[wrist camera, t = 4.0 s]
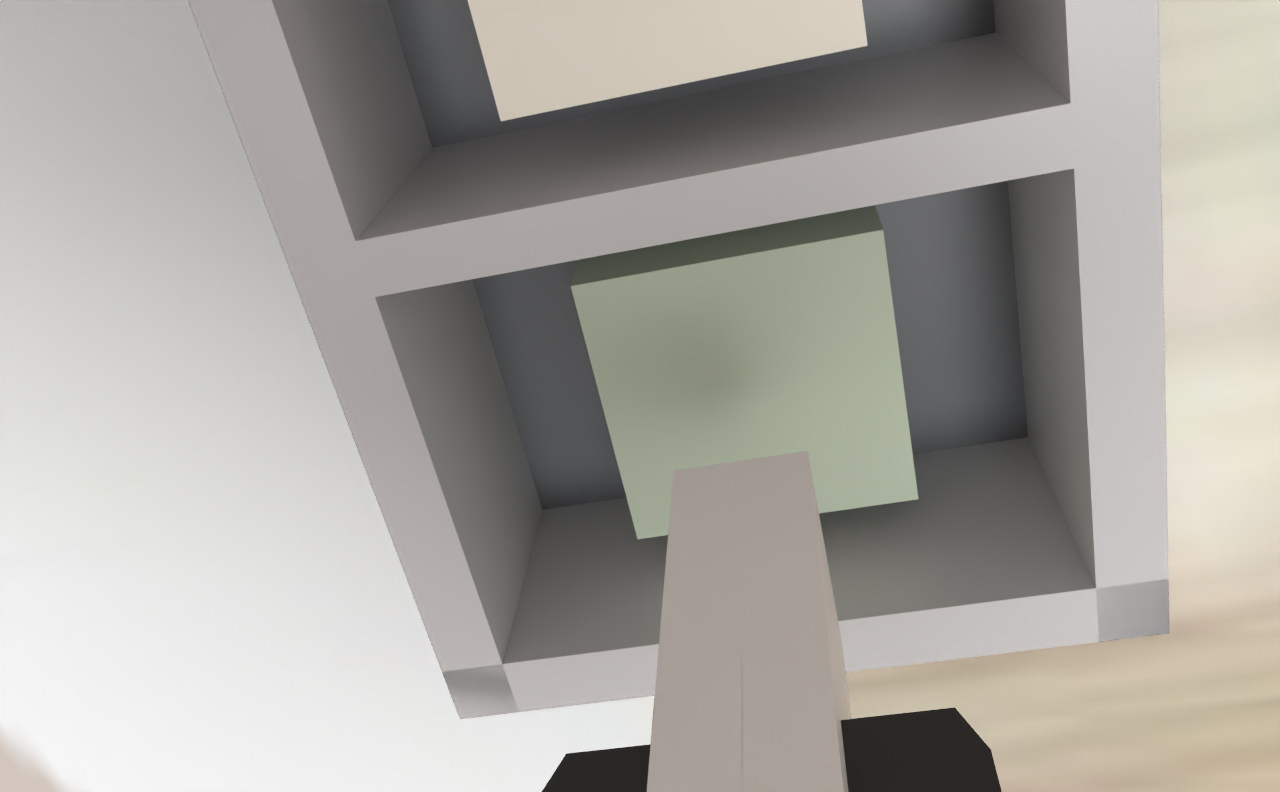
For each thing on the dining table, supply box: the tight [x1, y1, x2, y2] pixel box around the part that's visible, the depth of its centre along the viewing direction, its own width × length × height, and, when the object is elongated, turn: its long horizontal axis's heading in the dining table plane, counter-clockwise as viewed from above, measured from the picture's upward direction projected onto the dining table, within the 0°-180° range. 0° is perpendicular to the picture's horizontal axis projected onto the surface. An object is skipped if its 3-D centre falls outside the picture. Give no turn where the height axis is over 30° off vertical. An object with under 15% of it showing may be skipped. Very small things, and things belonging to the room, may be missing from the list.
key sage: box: [571, 205, 918, 539], centre depth 19 cm, size 5×5×2 cm
